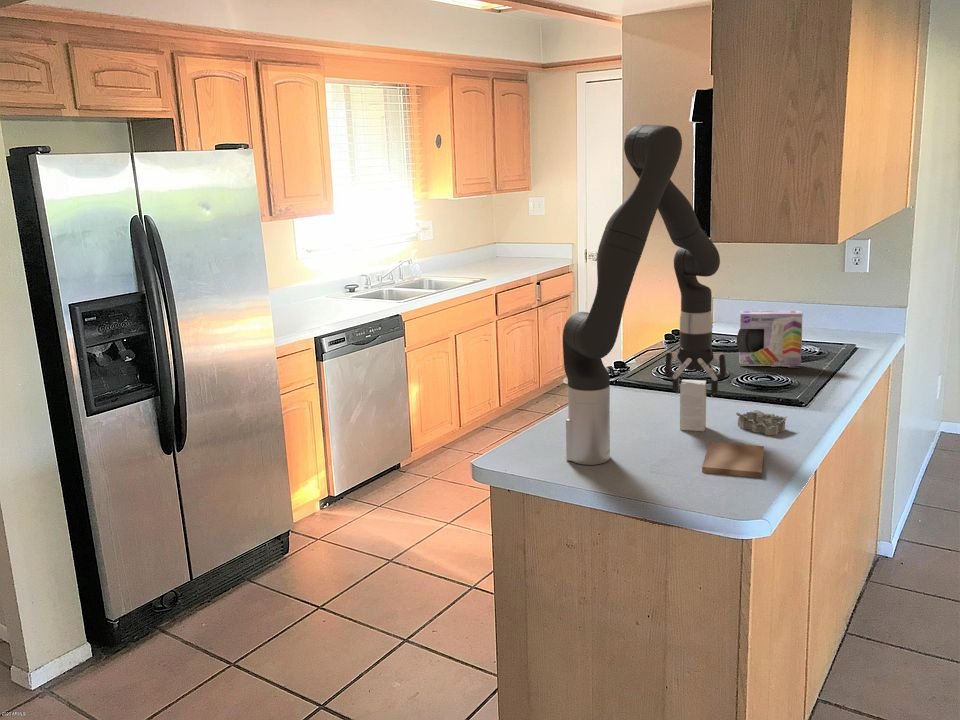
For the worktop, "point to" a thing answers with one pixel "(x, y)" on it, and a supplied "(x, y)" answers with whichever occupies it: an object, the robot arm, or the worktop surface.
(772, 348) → the cake pan box
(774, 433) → the egg carton
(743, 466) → the wooden board
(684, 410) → the skincare box
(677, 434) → the worktop surface
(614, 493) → the worktop surface
